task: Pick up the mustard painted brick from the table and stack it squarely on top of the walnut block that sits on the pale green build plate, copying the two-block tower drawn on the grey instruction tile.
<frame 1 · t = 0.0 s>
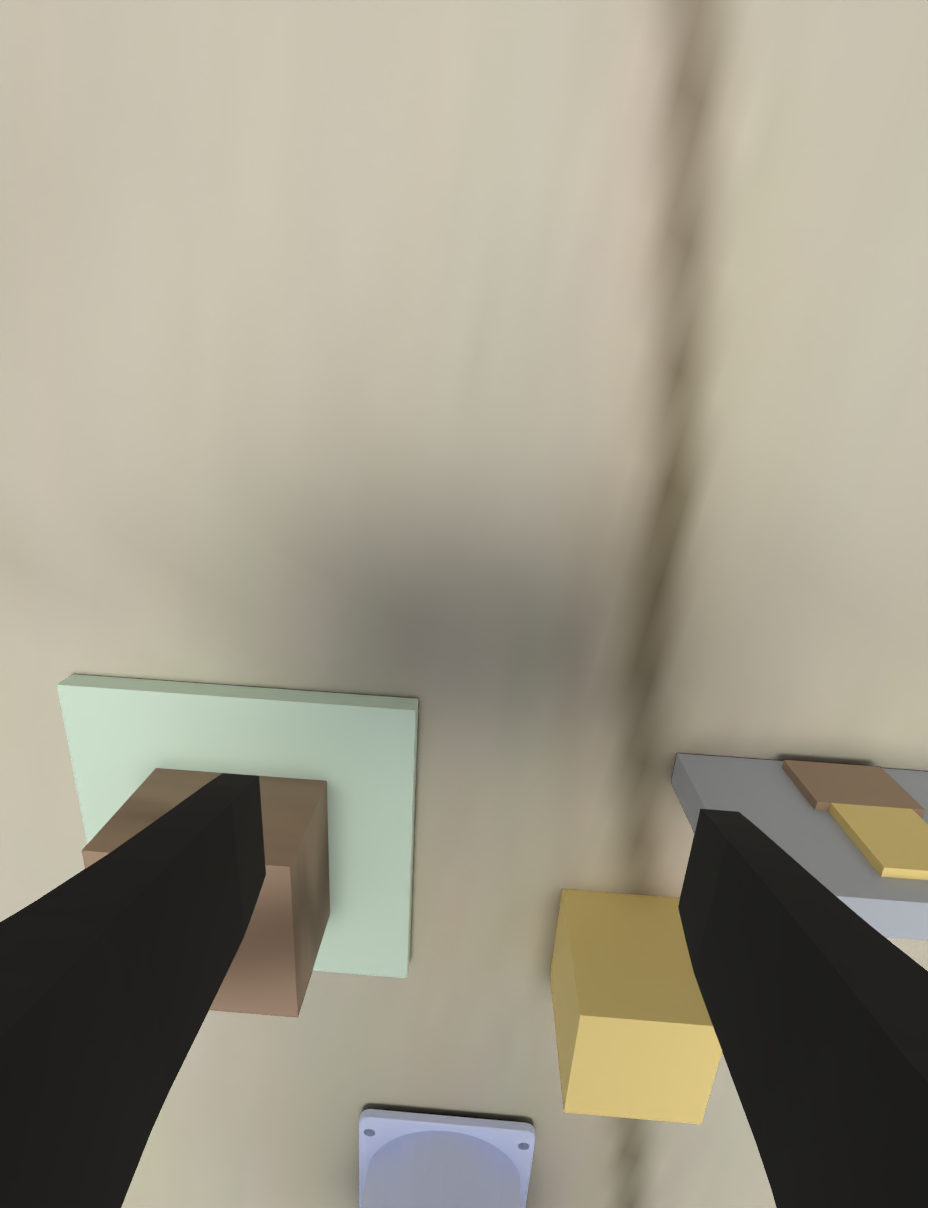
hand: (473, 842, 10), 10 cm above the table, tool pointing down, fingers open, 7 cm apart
build plate: (254, 828, 23), on the table
brick: (612, 936, 24), on the table
instruction tile: (819, 778, 21), on the table
base block: (246, 844, 22), point 1 cm above the table, touching build plate
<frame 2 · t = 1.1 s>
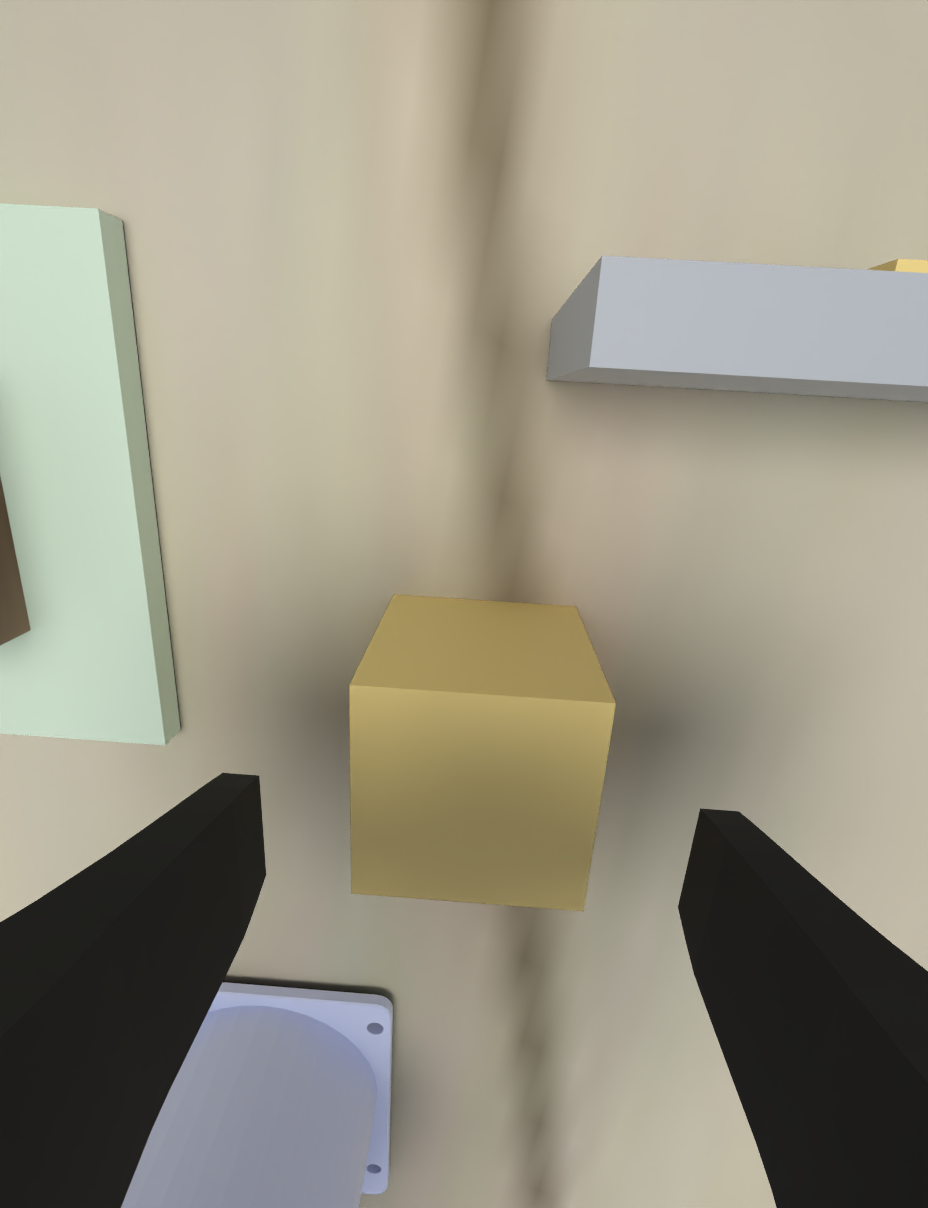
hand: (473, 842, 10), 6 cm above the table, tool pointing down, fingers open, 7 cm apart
brick: (478, 681, 16), on the table
instruction tile: (785, 363, 13), on the table
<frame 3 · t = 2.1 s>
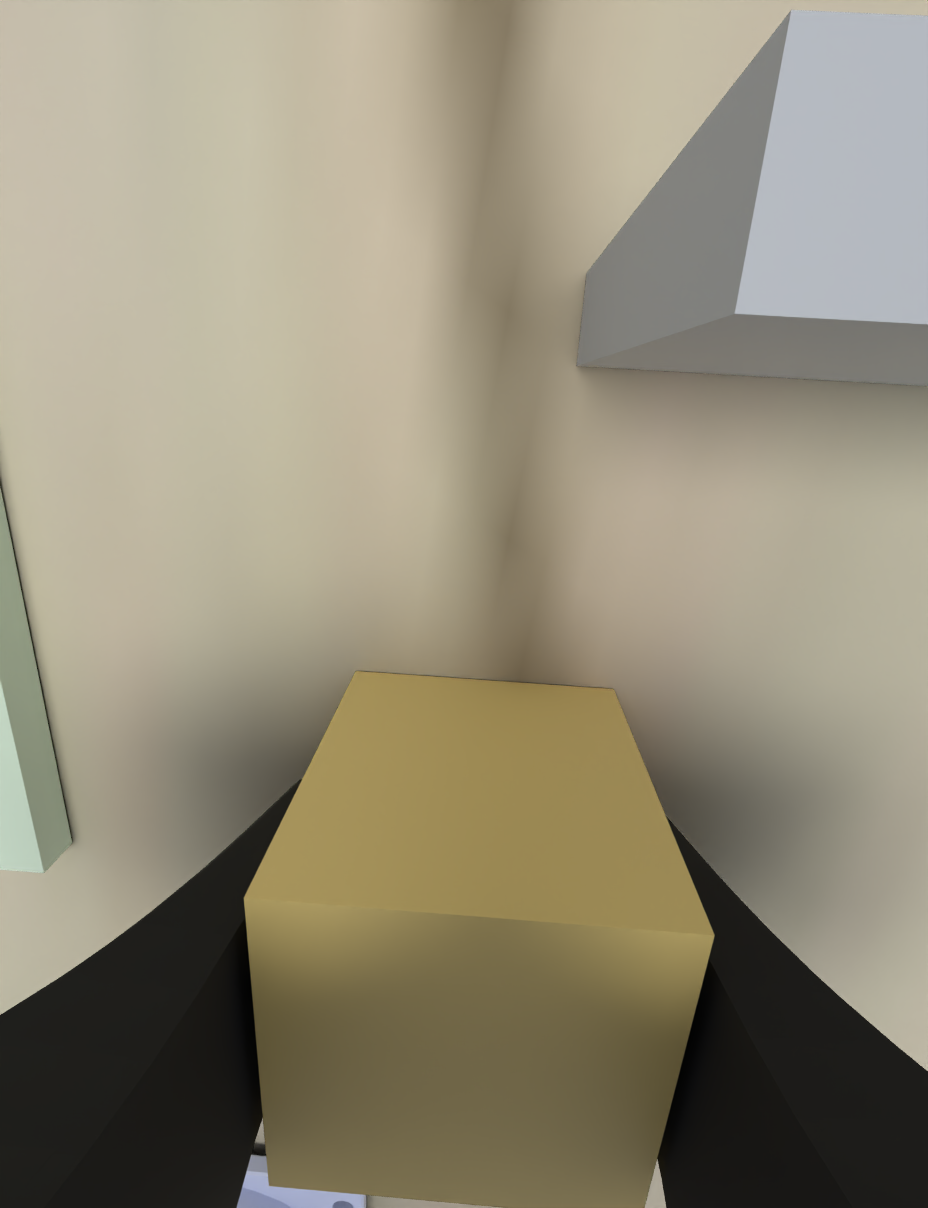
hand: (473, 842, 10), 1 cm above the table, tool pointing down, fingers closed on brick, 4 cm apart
brick: (476, 788, 11), on the table, touching gripper
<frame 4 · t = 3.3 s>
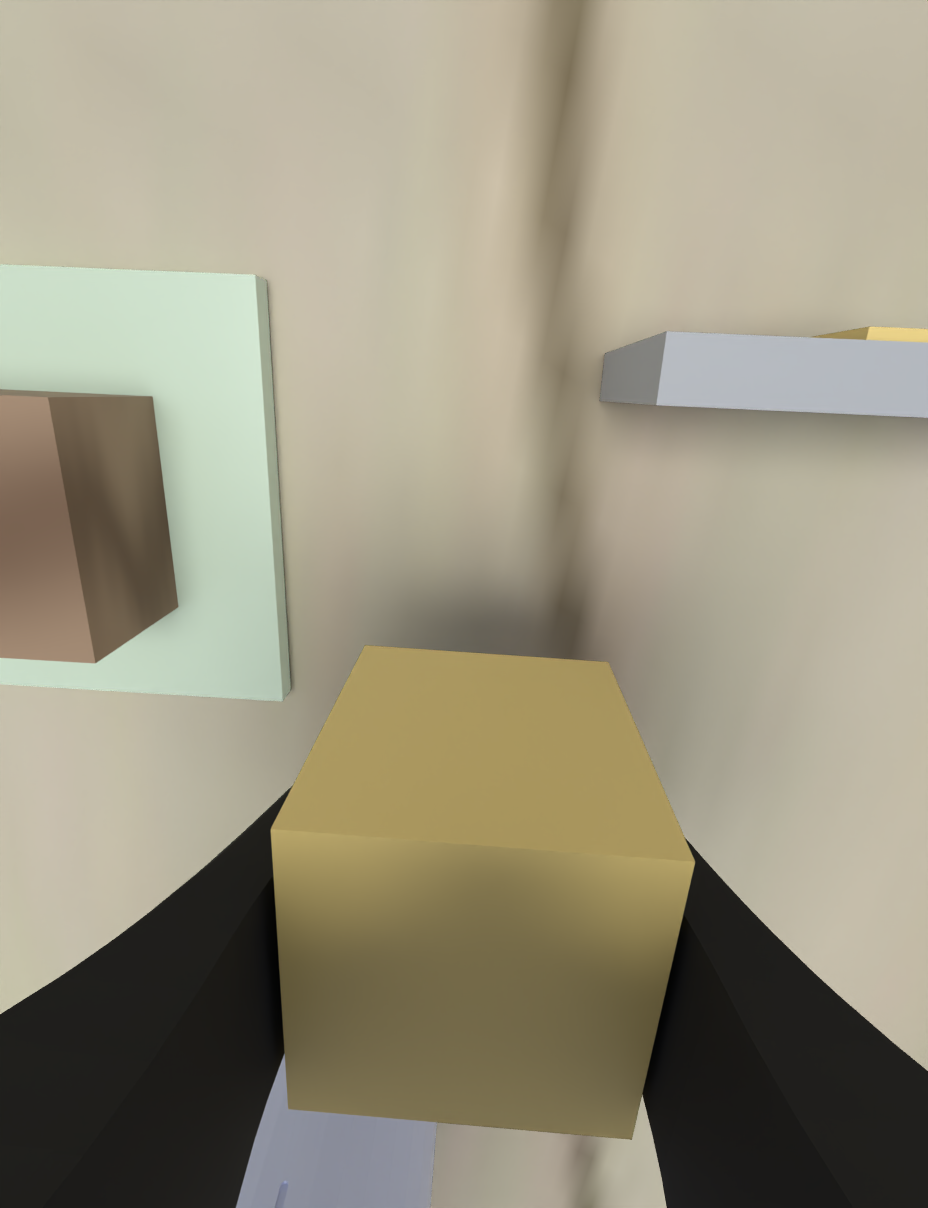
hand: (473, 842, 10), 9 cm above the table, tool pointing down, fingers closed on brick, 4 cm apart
build plate: (81, 497, 18), on the table
brick: (478, 758, 12), point 7 cm above the table, touching gripper
instruction tile: (790, 386, 16), on the table
base block: (63, 502, 17), point 1 cm above the table, touching build plate
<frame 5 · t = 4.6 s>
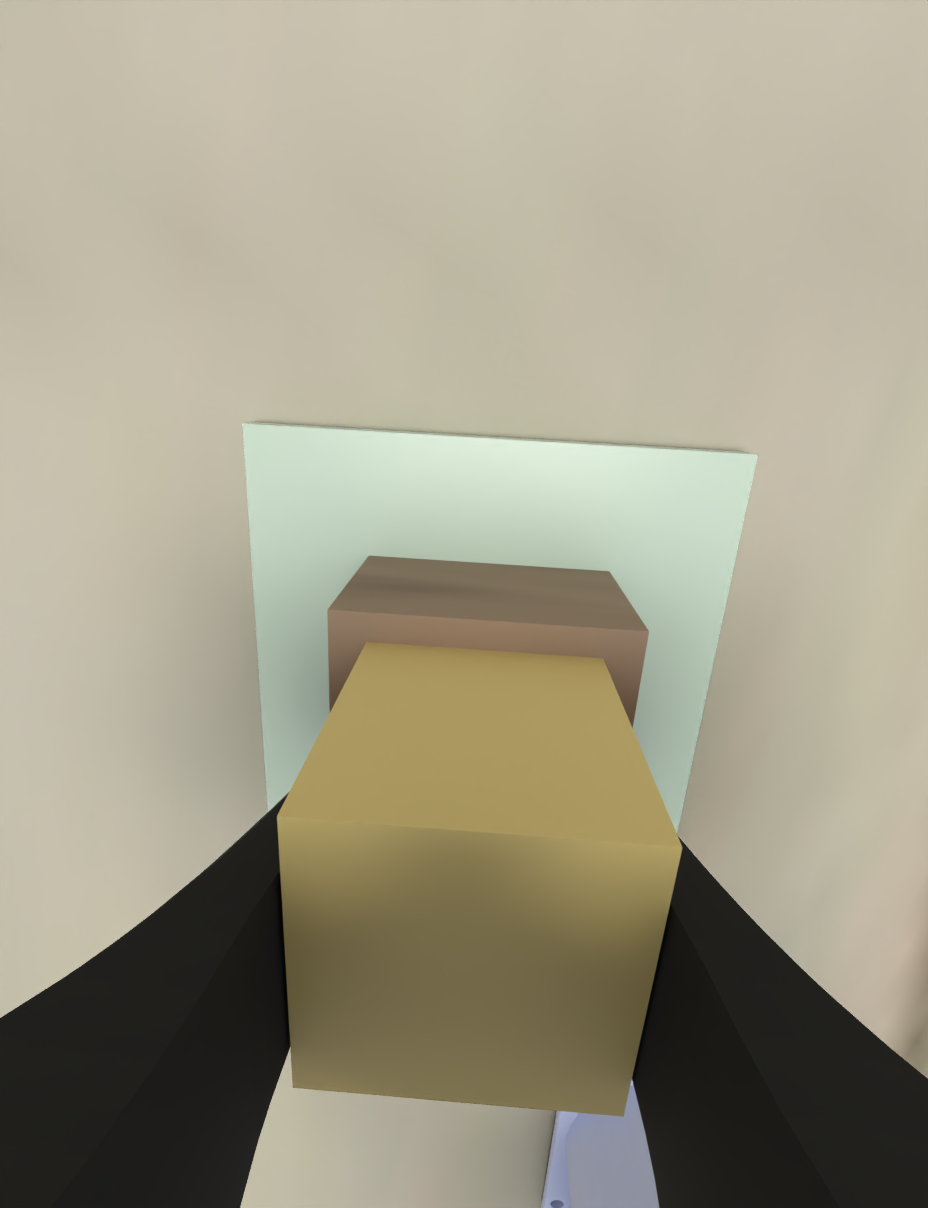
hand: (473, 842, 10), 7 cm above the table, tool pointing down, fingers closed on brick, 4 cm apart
build plate: (481, 659, 17), on the table
brick: (476, 752, 12), point 5 cm above the table, touching base block, gripper
base block: (480, 672, 16), point 1 cm above the table, touching brick, build plate
when the fingers open (7 cm above the table, at t = 4.9 s): brick stays where it is, resting on base block.
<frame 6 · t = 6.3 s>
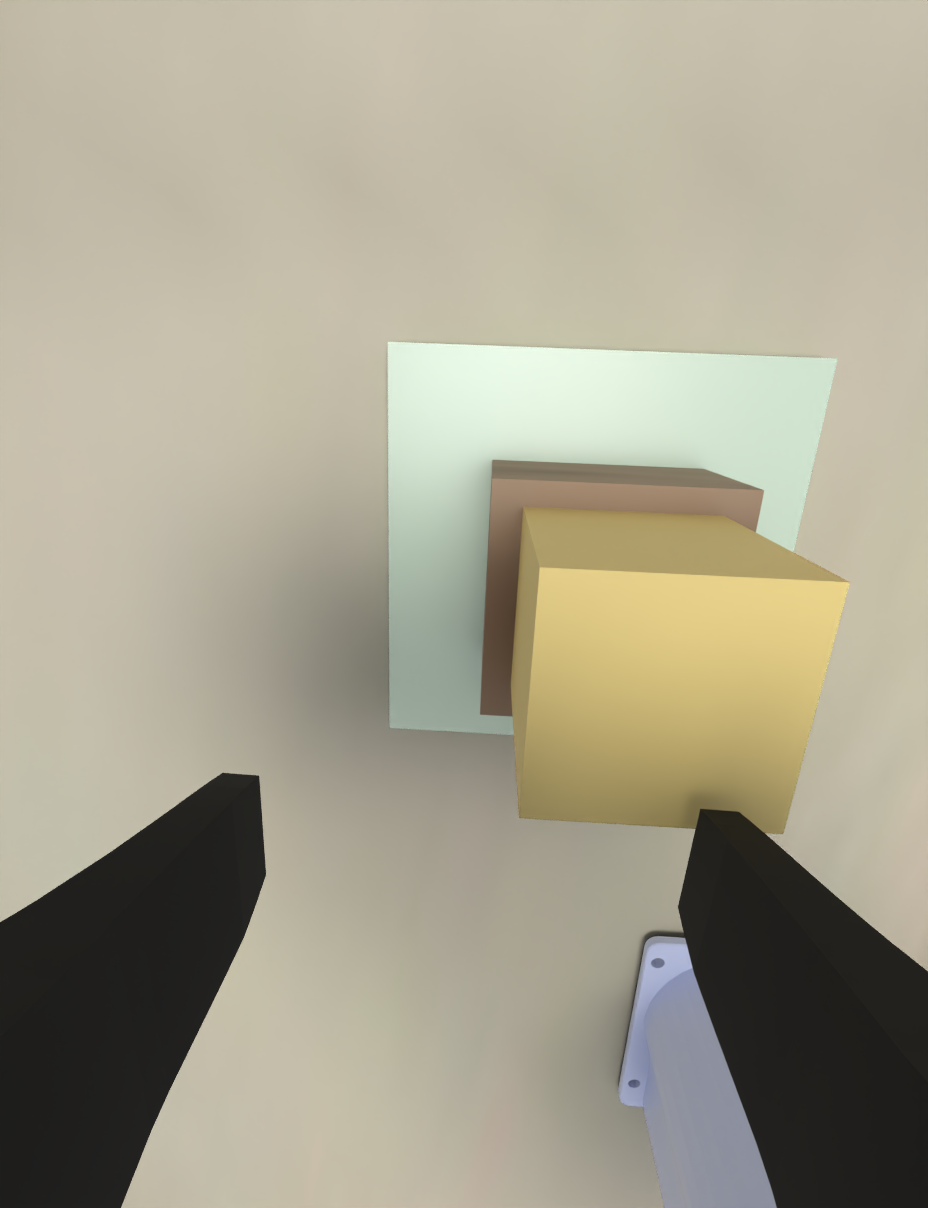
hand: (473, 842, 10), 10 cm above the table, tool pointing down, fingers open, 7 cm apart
build plate: (582, 558, 19), on the table
brick: (611, 605, 14), point 5 cm above the table, touching base block
base block: (586, 565, 18), point 1 cm above the table, touching brick, build plate
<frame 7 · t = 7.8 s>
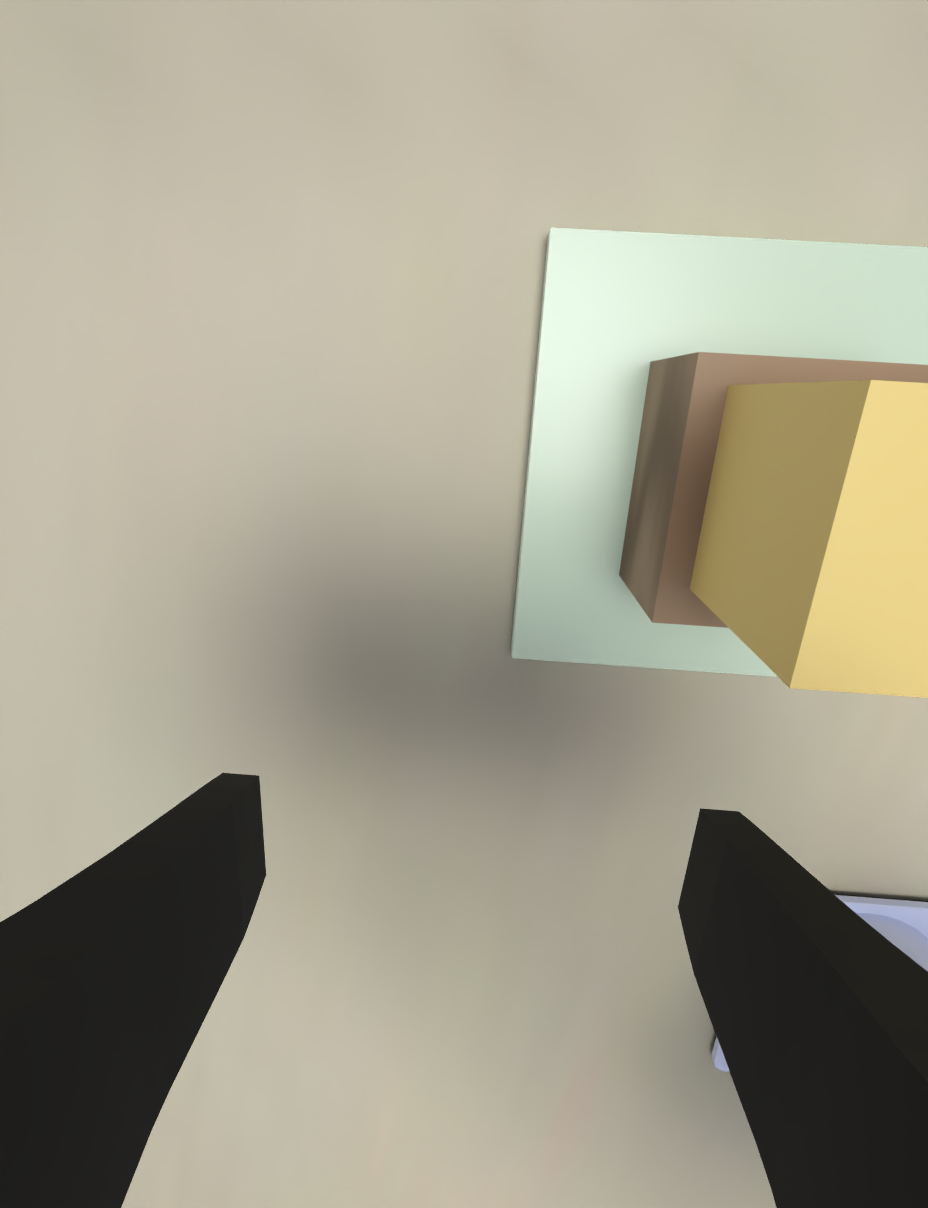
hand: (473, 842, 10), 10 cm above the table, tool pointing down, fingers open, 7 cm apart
build plate: (729, 477, 18), on the table
brick: (810, 499, 13), point 5 cm above the table, touching base block
base block: (739, 481, 17), point 1 cm above the table, touching brick, build plate
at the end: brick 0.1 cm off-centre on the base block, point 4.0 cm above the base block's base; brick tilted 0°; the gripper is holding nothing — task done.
